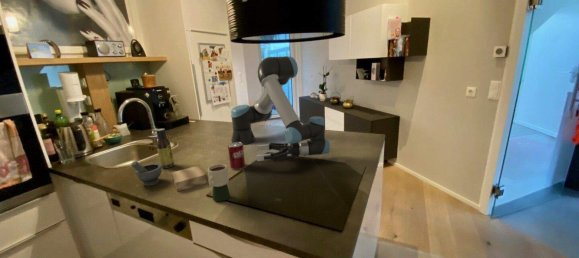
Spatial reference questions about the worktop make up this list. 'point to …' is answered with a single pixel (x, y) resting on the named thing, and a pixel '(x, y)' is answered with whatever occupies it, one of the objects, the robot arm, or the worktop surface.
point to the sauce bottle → (164, 150)
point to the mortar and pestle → (147, 173)
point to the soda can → (236, 155)
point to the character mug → (219, 181)
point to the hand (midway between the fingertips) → (256, 152)
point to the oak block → (189, 178)
